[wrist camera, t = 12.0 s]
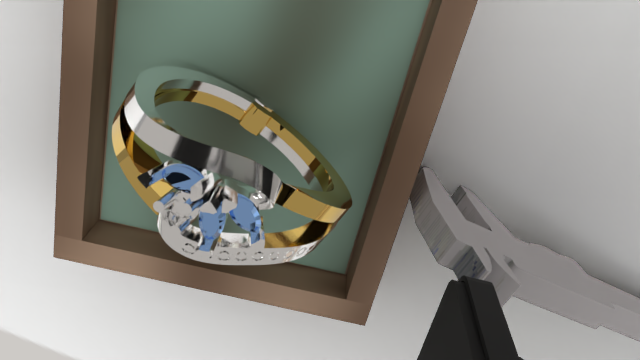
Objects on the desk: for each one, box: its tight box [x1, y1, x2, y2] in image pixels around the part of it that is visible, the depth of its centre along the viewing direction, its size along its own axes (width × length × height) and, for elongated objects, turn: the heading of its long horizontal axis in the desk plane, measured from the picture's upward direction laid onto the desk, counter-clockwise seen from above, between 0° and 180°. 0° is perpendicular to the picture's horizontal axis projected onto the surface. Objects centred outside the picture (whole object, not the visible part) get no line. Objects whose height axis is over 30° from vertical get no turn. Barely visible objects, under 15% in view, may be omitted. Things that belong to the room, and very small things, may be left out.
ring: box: [112, 66, 352, 265], centre depth 16 cm, size 7×3×8 cm, turn 53°
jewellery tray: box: [54, 0, 478, 326], centre depth 20 cm, size 12×14×2 cm
